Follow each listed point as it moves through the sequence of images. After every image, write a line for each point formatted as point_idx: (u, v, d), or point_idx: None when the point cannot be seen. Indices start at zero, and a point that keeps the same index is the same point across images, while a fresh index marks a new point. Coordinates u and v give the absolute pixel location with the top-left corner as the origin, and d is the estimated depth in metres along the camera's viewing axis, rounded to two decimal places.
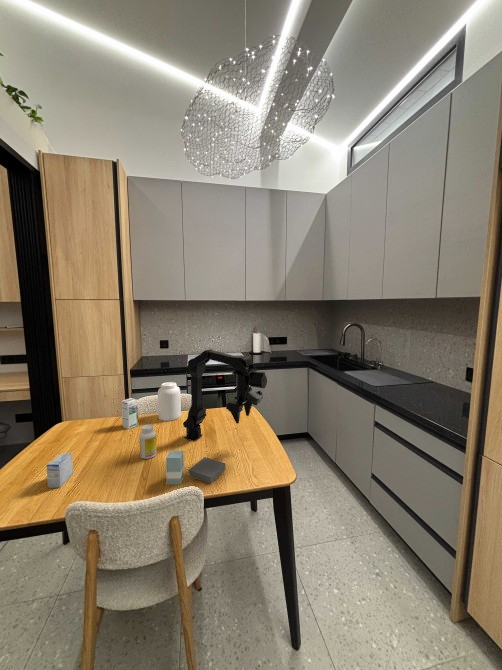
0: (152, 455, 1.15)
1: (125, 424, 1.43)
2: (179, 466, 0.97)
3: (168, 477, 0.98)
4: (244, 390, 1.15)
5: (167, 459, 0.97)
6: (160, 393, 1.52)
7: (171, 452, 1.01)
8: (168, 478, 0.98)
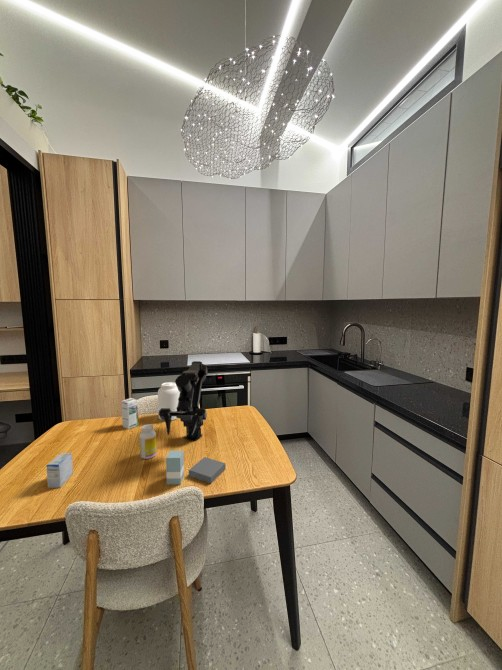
0: (152, 455, 1.15)
1: (125, 424, 1.43)
2: (179, 466, 0.97)
3: (168, 477, 0.98)
4: None
5: (167, 459, 0.97)
6: (160, 393, 1.52)
7: (171, 452, 1.01)
8: (168, 478, 0.98)
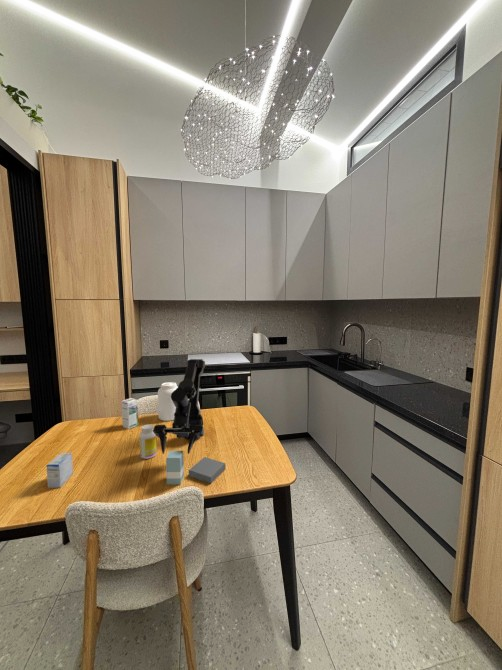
0: (152, 455, 1.15)
1: (125, 424, 1.43)
2: (179, 466, 0.97)
3: (168, 477, 0.98)
4: (188, 418, 1.11)
5: (167, 459, 0.97)
6: (160, 393, 1.52)
7: (171, 452, 1.01)
8: (168, 478, 0.98)
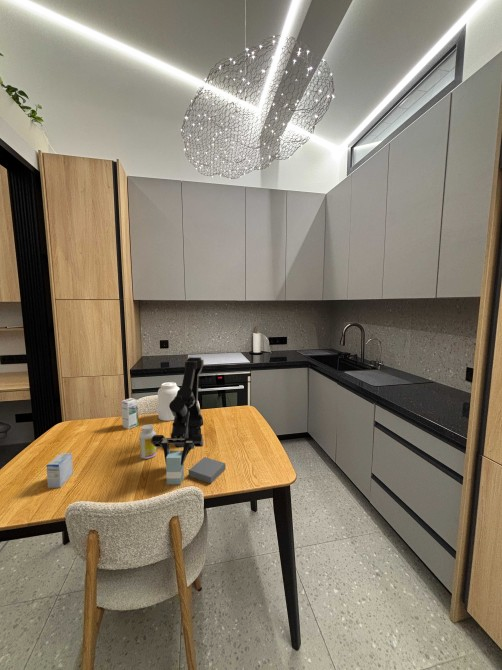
0: (152, 455, 1.15)
1: (125, 424, 1.43)
2: (179, 466, 0.97)
3: (168, 477, 0.98)
4: (187, 428, 1.09)
5: (167, 459, 0.97)
6: (160, 393, 1.52)
7: (171, 452, 1.01)
8: (168, 478, 0.98)
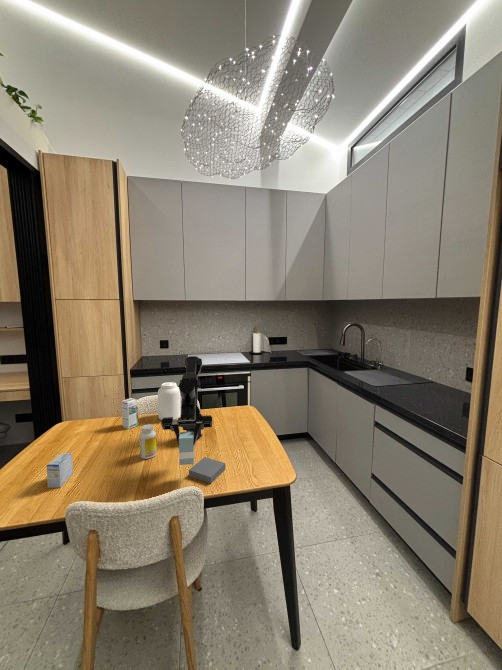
0: (152, 455, 1.15)
1: (125, 424, 1.43)
2: (192, 446, 0.98)
3: (181, 457, 0.98)
4: None
5: (180, 440, 0.97)
6: (160, 393, 1.52)
7: (182, 433, 1.01)
8: (181, 458, 0.98)
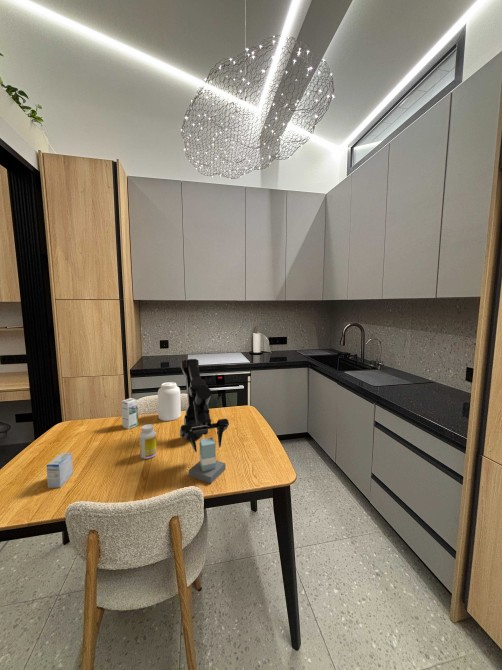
0: (152, 455, 1.15)
1: (125, 424, 1.43)
2: (214, 451, 1.03)
3: (204, 464, 1.02)
4: None
5: (203, 447, 1.01)
6: (160, 393, 1.52)
7: (202, 440, 1.04)
8: (204, 465, 1.01)
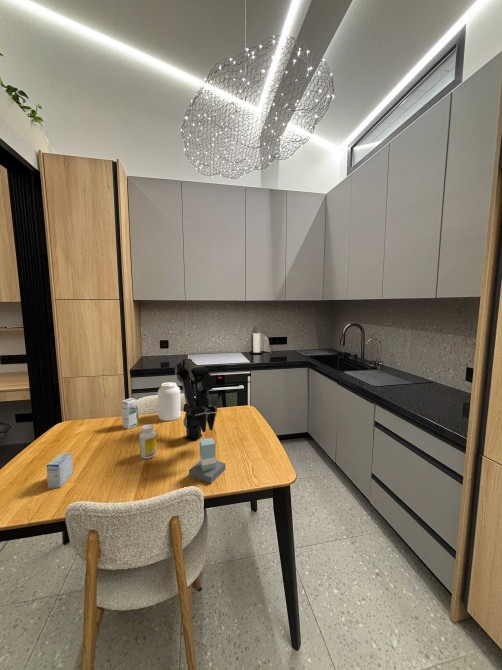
0: (152, 455, 1.15)
1: (125, 424, 1.43)
2: (214, 451, 1.03)
3: (204, 464, 1.02)
4: None
5: (203, 447, 1.01)
6: (160, 393, 1.52)
7: (202, 440, 1.04)
8: (204, 465, 1.01)
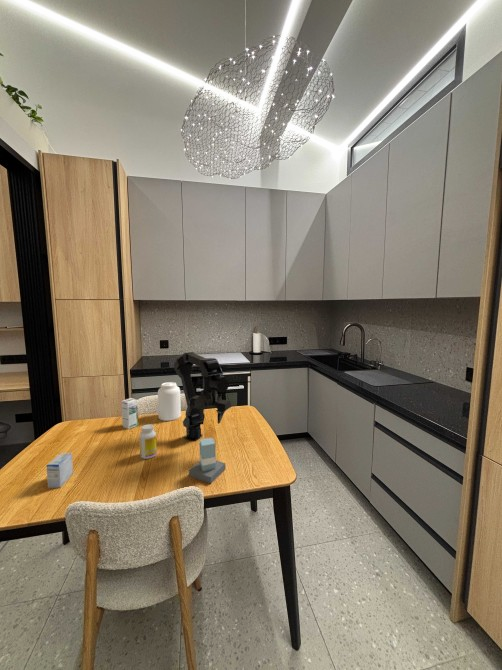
0: (152, 455, 1.15)
1: (125, 424, 1.43)
2: (214, 451, 1.03)
3: (204, 464, 1.02)
4: None
5: (203, 447, 1.01)
6: (160, 393, 1.52)
7: (202, 440, 1.04)
8: (204, 465, 1.01)
